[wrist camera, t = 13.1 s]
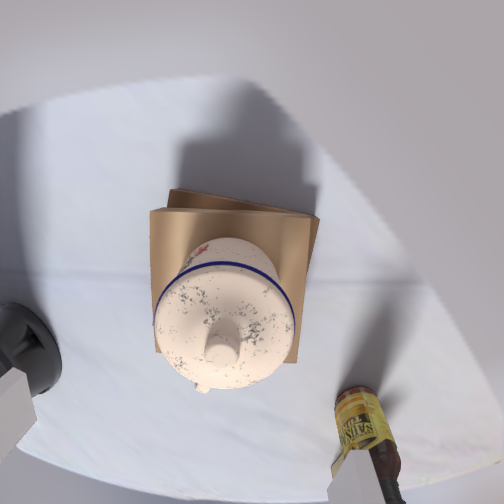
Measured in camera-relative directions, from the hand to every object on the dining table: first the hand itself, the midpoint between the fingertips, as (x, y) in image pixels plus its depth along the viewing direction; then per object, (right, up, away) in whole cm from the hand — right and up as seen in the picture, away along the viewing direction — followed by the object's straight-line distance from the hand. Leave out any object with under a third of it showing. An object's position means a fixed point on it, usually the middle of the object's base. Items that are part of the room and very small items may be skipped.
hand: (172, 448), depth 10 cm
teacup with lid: (0, +3, +19) cm, 19 cm away
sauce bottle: (+17, -13, +30) cm, 37 cm away
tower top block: (+1, +5, +23) cm, 23 cm away
